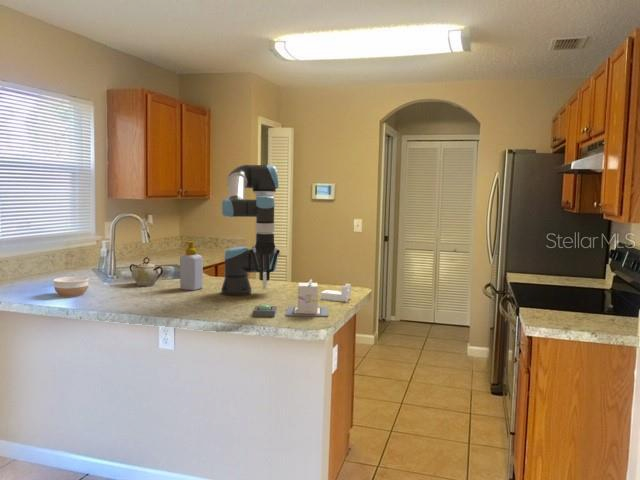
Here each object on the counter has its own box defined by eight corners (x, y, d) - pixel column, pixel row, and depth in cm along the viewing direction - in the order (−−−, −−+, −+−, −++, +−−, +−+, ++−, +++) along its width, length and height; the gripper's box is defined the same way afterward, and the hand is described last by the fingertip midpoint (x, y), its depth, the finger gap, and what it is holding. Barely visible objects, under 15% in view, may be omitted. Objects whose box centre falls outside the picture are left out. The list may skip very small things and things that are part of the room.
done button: (258, 313, 224) (258, 307, 224) (259, 311, 229) (259, 304, 229) (270, 314, 224) (270, 307, 224) (271, 311, 229) (271, 304, 229)
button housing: (253, 316, 222) (252, 310, 222) (255, 311, 231) (255, 305, 231) (274, 317, 222) (274, 311, 222) (276, 311, 231) (276, 306, 231)
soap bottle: (179, 289, 276) (178, 241, 273) (189, 286, 284) (189, 240, 282) (193, 291, 273) (193, 242, 270) (203, 288, 281) (203, 240, 278)
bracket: (350, 299, 260) (351, 284, 259) (346, 302, 254) (346, 286, 253) (325, 297, 265) (326, 282, 264) (320, 299, 258) (321, 284, 257)
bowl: (96, 293, 264) (96, 277, 263) (69, 299, 249) (69, 283, 248) (73, 290, 270) (73, 275, 269) (46, 296, 256) (45, 280, 255)
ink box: (297, 308, 236) (298, 278, 234) (316, 308, 236) (317, 278, 235) (298, 312, 227) (298, 282, 226) (317, 312, 228) (318, 282, 226)
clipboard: (285, 316, 224) (285, 314, 224) (287, 307, 240) (287, 305, 240) (328, 316, 224) (328, 315, 224) (327, 308, 240) (327, 306, 240)
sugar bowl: (169, 283, 294) (169, 256, 292) (155, 288, 279) (155, 259, 278) (137, 281, 298) (137, 254, 296) (122, 286, 283) (121, 258, 282)
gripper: (248, 233, 219) (248, 289, 222) (280, 234, 219) (279, 290, 222) (250, 231, 227) (250, 285, 230) (281, 232, 227) (280, 286, 230)
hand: (264, 287), depth 226 cm, fingers closed
